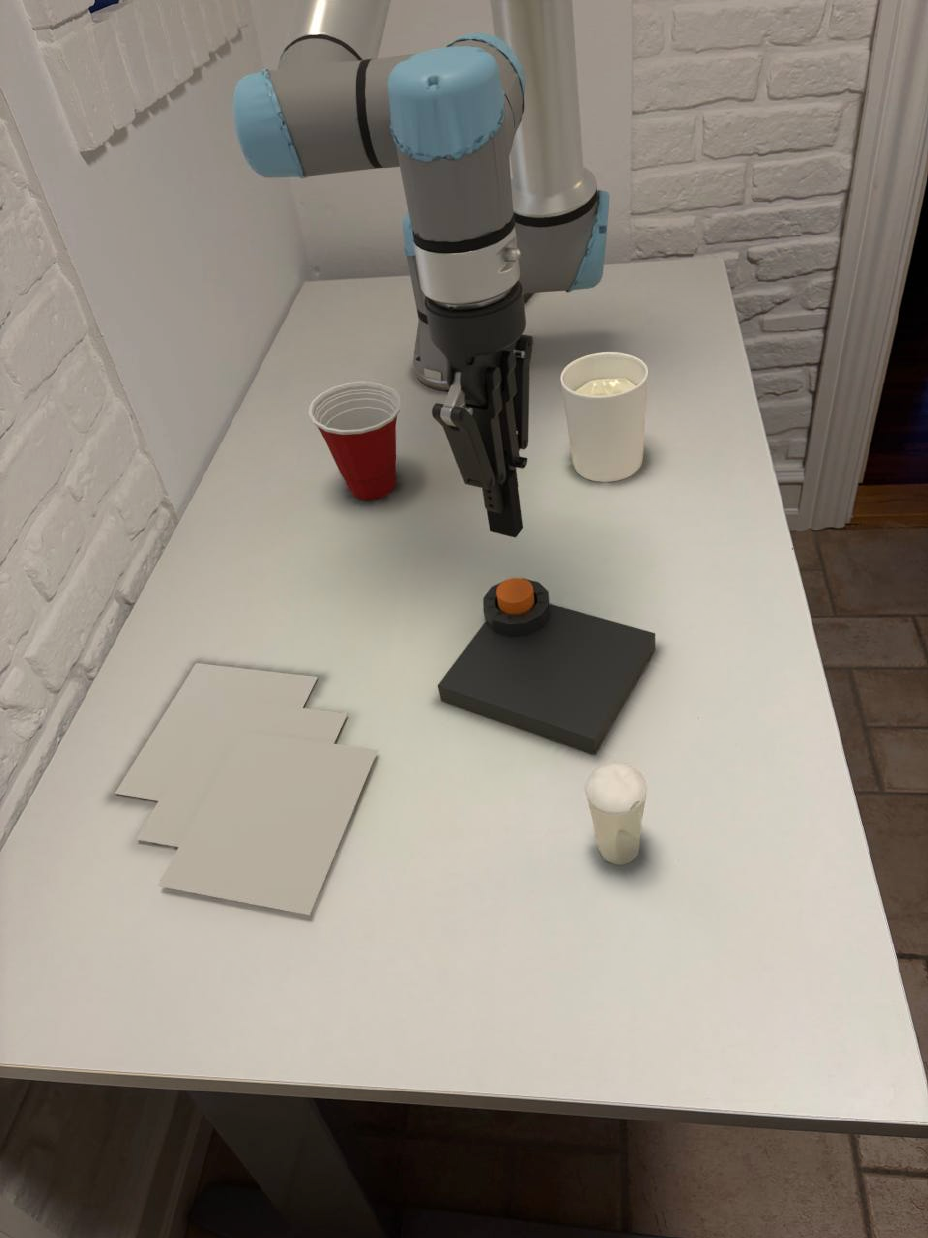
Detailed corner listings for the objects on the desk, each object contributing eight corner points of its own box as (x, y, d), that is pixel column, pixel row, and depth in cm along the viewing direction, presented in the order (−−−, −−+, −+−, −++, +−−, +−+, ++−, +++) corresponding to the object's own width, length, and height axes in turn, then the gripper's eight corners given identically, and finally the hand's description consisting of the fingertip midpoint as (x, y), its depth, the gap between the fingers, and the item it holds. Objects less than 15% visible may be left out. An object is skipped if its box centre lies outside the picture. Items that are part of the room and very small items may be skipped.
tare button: (508, 587, 96) (507, 574, 95) (540, 596, 94) (539, 582, 93) (491, 610, 94) (489, 597, 93) (524, 619, 92) (522, 606, 91)
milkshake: (613, 890, 74) (609, 815, 67) (580, 838, 78) (572, 762, 71) (664, 865, 75) (664, 789, 68) (628, 815, 79) (626, 738, 72)
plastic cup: (406, 514, 113) (386, 428, 105) (321, 513, 116) (295, 429, 108) (427, 461, 121) (410, 377, 113) (346, 461, 123) (324, 379, 115)
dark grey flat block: (506, 600, 100) (502, 572, 97) (658, 644, 92) (658, 614, 90) (434, 698, 91) (427, 670, 89) (594, 755, 84) (592, 725, 81)
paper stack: (65, 872, 82) (62, 867, 82) (196, 663, 99) (194, 658, 99) (311, 919, 76) (309, 915, 75) (407, 687, 93) (405, 682, 92)
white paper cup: (610, 496, 110) (606, 406, 102) (550, 466, 116) (542, 379, 108) (666, 457, 114) (666, 367, 106) (605, 430, 120) (601, 343, 112)
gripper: (472, 335, 67) (509, 584, 83) (555, 254, 74) (573, 496, 90) (384, 322, 70) (436, 563, 86) (471, 245, 77) (504, 481, 94)
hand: (506, 529), depth 88 cm, fingers closed
